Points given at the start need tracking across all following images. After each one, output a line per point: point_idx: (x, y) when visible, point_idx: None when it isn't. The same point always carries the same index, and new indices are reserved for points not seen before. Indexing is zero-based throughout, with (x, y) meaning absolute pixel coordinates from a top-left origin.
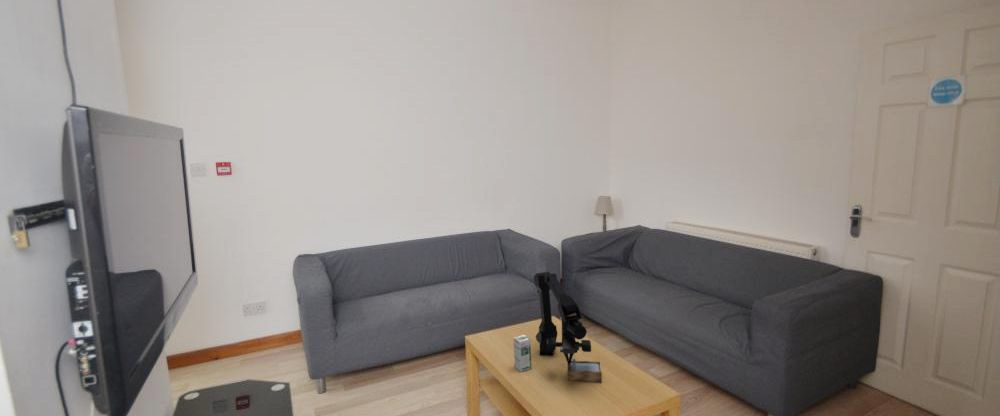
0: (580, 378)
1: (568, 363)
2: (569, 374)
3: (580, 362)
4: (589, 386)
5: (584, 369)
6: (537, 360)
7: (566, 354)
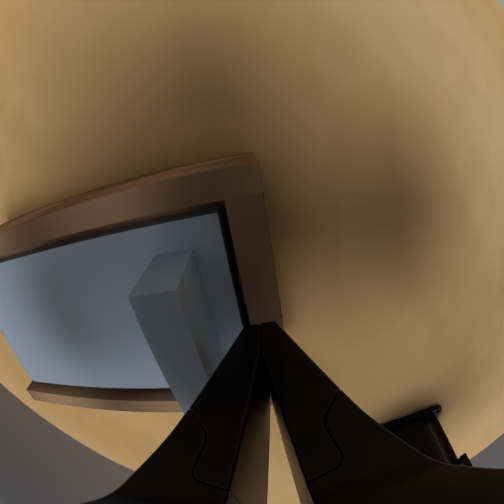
0: (116, 185)
1: (268, 326)
2: (229, 161)
3: (154, 395)
4: (53, 131)
5: (65, 281)
6: (460, 364)
7: (345, 470)
